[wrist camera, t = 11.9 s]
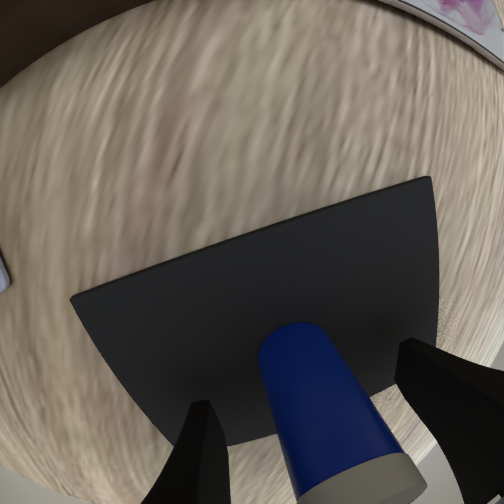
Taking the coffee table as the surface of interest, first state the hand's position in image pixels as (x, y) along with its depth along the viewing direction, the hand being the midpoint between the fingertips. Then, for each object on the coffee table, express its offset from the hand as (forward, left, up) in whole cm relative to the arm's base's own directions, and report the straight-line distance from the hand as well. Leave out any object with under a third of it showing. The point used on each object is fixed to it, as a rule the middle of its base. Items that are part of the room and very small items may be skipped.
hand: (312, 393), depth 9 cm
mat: (0, 0, -3) cm, 3 cm away
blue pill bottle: (0, 0, -3) cm, 3 cm away
